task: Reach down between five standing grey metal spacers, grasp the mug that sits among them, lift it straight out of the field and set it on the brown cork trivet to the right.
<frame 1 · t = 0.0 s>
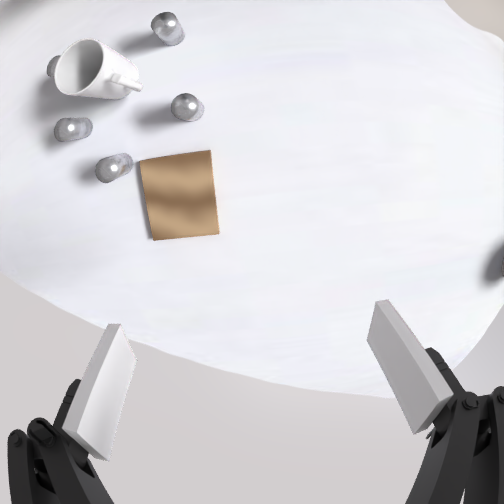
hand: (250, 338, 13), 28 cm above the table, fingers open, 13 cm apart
spacer 2: (75, 71, 27), on the table
spacer 1: (173, 36, 27), on the table
mug: (128, 83, 30), on the table
spacer 3: (84, 127, 32), on the table
spacer 5: (123, 164, 35), on the table
trivet: (180, 196, 38), on the table
spacer 4: (192, 110, 33), on the table
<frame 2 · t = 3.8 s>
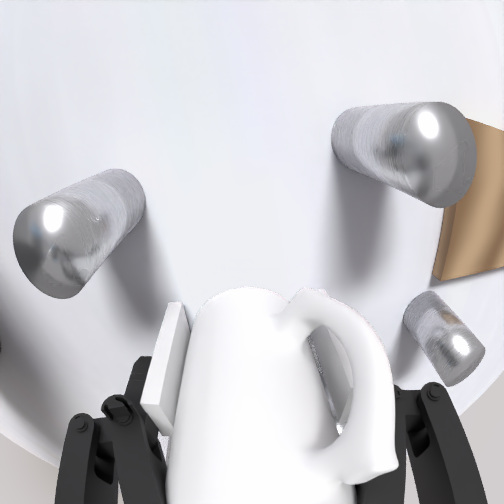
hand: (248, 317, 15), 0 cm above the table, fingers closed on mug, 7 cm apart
spacer 1: (115, 201, 12), on the table
mug: (261, 308, 15), on the table, touching gripper
spacer 5: (421, 310, 16), on the table
trivet: (497, 200, 13), on the table
spacer 4: (362, 139, 11), on the table
when the fingers open (3 cm above the table, at t = 9.7 s): mug drops 1 cm, resting on trivet.
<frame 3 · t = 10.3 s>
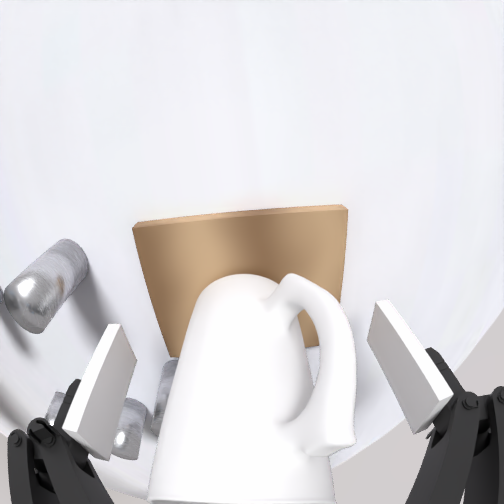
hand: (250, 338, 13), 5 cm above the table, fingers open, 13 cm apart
spacer 2: (66, 400, 23), on the table
mug: (257, 294, 16), point 1 cm above the table, touching trivet
spacer 3: (132, 406, 23), on the table
spacer 5: (181, 372, 21), on the table
trivet: (245, 287, 17), on the table
spacer 4: (69, 260, 16), on the table
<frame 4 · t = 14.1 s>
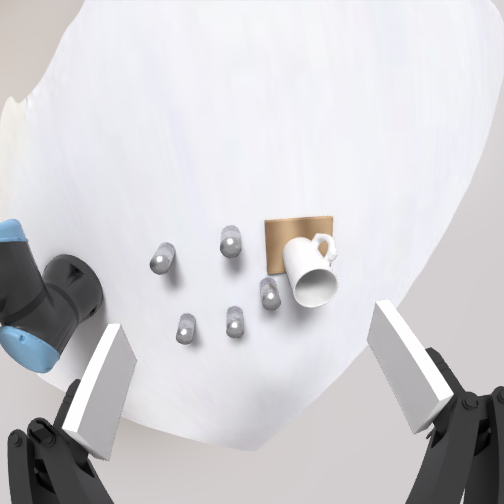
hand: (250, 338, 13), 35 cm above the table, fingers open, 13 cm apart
spacer 2: (187, 319, 55), on the table
spacer 1: (166, 250, 48), on the table
mug: (303, 244, 49), point 1 cm above the table, touching trivet
spacer 3: (234, 312, 55), on the table
spacer 5: (267, 284, 53), on the table
trivet: (298, 244, 49), on the table
spacer 4: (230, 234, 48), on the table
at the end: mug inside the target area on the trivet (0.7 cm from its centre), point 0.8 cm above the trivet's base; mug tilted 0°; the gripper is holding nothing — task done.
